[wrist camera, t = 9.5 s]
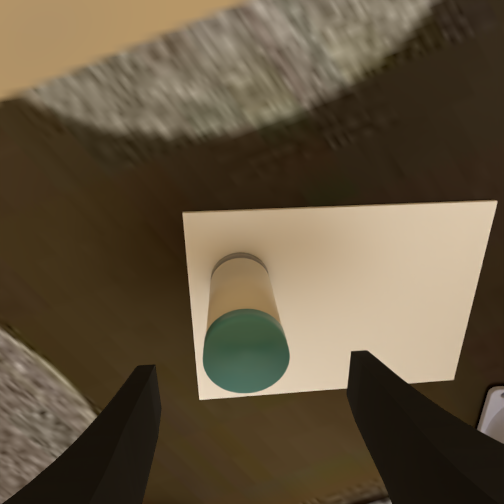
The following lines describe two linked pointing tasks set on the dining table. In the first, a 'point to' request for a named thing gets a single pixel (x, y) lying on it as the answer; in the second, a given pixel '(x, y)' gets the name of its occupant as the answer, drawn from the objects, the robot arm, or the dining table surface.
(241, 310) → the green lidded jar
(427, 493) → the robot arm
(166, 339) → the dining table surface
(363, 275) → the paper
